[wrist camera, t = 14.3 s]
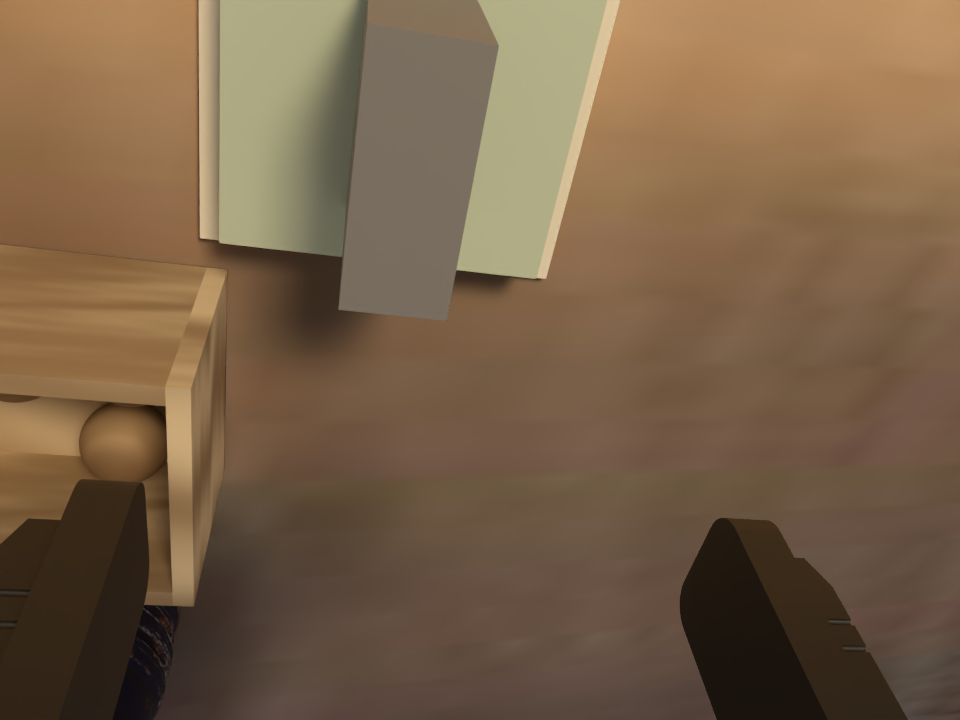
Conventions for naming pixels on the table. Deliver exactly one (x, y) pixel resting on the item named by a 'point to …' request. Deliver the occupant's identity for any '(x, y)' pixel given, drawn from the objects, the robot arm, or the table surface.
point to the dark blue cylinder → (148, 664)
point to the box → (115, 396)
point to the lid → (400, 136)
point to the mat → (211, 122)
